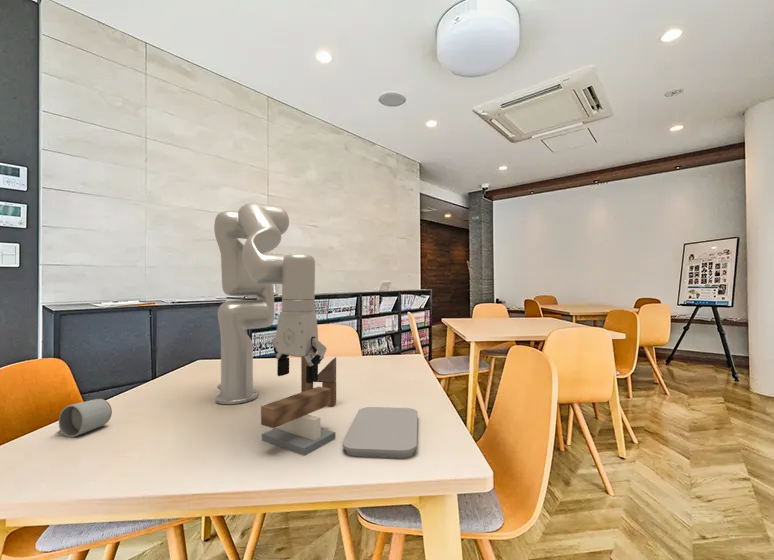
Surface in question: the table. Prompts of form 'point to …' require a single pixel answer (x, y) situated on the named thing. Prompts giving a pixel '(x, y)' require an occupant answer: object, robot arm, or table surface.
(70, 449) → the table surface
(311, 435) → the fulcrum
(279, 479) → the table surface
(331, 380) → the brown wooden block stack
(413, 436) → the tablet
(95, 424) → the grey hollow cylinder
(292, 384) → the table surface
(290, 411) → the walnut bar
